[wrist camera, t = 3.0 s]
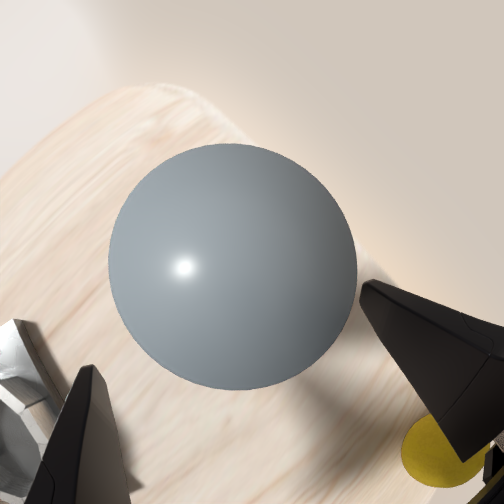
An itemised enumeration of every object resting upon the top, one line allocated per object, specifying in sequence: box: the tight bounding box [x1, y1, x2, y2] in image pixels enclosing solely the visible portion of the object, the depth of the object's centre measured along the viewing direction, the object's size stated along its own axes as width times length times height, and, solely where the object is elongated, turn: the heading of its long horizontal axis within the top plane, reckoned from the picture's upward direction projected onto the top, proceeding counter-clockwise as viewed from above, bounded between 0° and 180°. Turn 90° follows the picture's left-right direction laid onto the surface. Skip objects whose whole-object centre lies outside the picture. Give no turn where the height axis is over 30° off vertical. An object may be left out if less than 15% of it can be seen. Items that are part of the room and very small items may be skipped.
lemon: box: [401, 414, 490, 488], centre depth 14 cm, size 6×6×8 cm
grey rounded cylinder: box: [108, 144, 357, 390], centre depth 11 cm, size 4×4×13 cm
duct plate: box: [0, 319, 65, 504], centre depth 11 cm, size 12×9×4 cm
